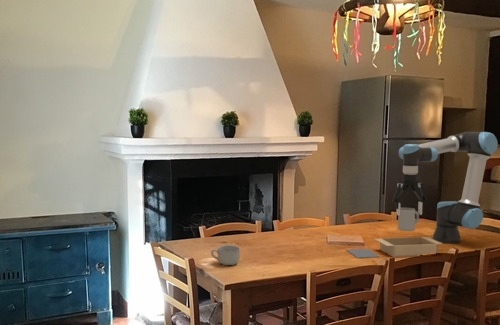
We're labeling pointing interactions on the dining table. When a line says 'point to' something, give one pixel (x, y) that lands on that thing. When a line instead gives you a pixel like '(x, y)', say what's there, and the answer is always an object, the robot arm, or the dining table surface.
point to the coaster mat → (362, 253)
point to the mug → (407, 219)
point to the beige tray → (408, 246)
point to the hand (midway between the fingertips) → (409, 214)
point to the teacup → (227, 254)
